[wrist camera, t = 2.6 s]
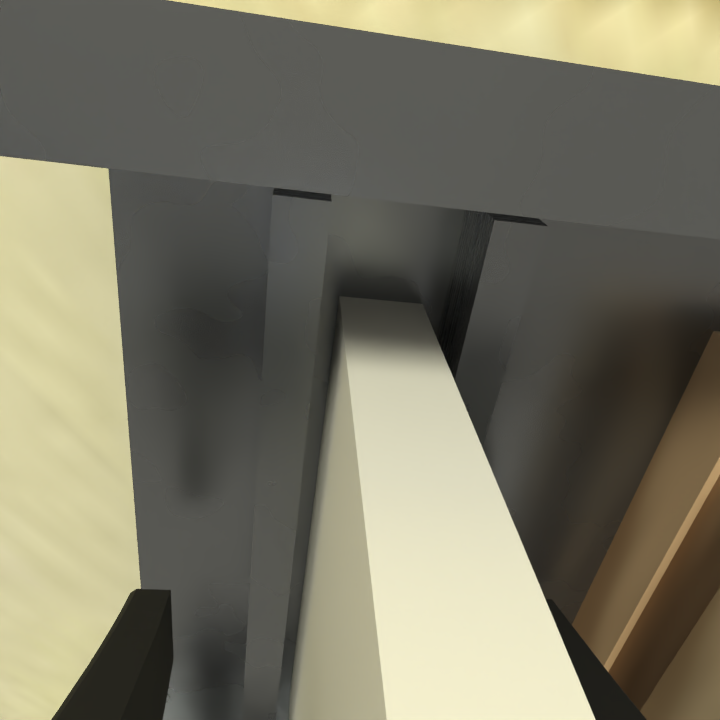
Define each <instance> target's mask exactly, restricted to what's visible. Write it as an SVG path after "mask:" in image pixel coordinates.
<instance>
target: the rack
mask: <svg viewBox="0 0 720 720" xmlns="http://www.w3.org/2000/svg"><path fill="white" fill-rule="evenodd" d="M0 156H6V157H15V158H23V159H32V160H40V161H49V162H58V163H66V164H75V165H83V166H92V167H101V168H109V180H110V193H111V206H112V219H113V231H114V244H115V257H116V270H117V283H118V296H119V309H120V322H121V335H122V348H123V360H124V373H125V386H126V399H127V412H128V425H129V438H130V451H131V464H132V477H133V489H134V502H135V515H136V528H137V541H138V554H139V567H140V580H141V589H158V590H171V606H172V631H173V656H174V659H173V665H172V671H171V677H170V682H169V688H168V694H167V699H166V704H165V710H164V715H163V720H289V703H290V689H291V681H292V673H293V665H294V657H295V649H296V641H297V633H298V625H299V617H300V609H301V601H302V592H303V584H304V576H305V568H306V560H307V552H308V544H309V536H310V528H311V520H312V512H313V504H314V496H315V488H316V480H317V472H318V464H319V456H320V448H321V440H322V432H323V424H324V416H325V408H326V400H327V392H328V384H329V376H330V368H331V360H332V352H333V344H334V336H335V328H336V320H337V312H338V304H339V296H343V297H354V298H365V299H376V300H386V301H397V302H408V303H419V304H423V306H424V309H425V311H426V314H427V316H428V318H429V321H430V323H431V326H432V328H433V330H434V333H435V335H436V338H437V340H438V342H439V345H440V347H441V350H442V352H443V354H444V357H445V359H446V362H447V364H448V366H449V369H450V371H451V374H452V376H453V378H454V381H455V383H456V386H457V388H458V390H459V393H460V395H461V398H462V400H463V402H464V405H465V407H466V410H467V412H468V414H469V417H470V419H471V422H472V424H473V426H474V429H475V431H476V434H477V436H478V438H479V441H480V443H481V446H482V448H483V450H484V453H485V455H486V458H487V460H488V462H489V465H490V467H491V470H492V472H493V474H494V477H495V479H496V482H497V484H498V487H499V489H500V491H501V494H502V496H503V499H504V501H505V503H506V506H507V508H508V511H509V513H510V515H511V518H512V520H513V523H514V525H515V527H516V530H517V532H518V535H519V537H520V539H521V542H522V544H523V547H524V549H525V551H526V554H527V556H528V559H529V561H530V563H531V566H532V568H533V571H534V573H535V575H536V578H537V580H538V583H539V585H540V587H541V590H542V592H543V595H544V597H545V599H552V600H553V601H554V603H555V604H556V605H557V606H558V608H559V609H560V610H561V611H562V613H563V614H564V615H565V617H566V618H567V619H568V621H569V622H570V623H571V625H572V623H573V621H574V619H575V617H576V615H577V613H578V611H579V609H580V607H581V605H582V603H583V601H584V599H585V596H586V594H587V592H588V590H589V588H590V586H591V584H592V582H593V580H594V578H595V576H596V574H597V572H598V570H599V567H600V565H601V563H602V561H603V559H604V557H605V555H606V553H607V551H608V549H609V547H610V545H611V543H612V540H613V538H614V536H615V534H616V532H617V530H618V528H619V526H620V524H621V522H622V520H623V518H624V516H625V514H626V511H627V509H628V507H629V505H630V503H631V501H632V499H633V497H634V495H635V493H636V491H637V489H638V487H639V485H640V482H641V480H642V478H643V476H644V474H645V472H646V470H647V468H648V466H649V464H650V462H651V460H652V458H653V455H654V453H655V451H656V449H657V447H658V445H659V443H660V441H661V439H662V437H663V435H664V433H665V431H666V429H667V426H668V424H669V422H670V420H671V418H672V416H673V414H674V412H675V410H676V408H677V406H678V404H679V402H680V399H681V397H682V395H683V393H684V391H685V389H686V387H687V385H688V383H689V381H690V379H691V377H692V375H693V373H694V370H695V368H696V366H697V364H698V362H699V360H700V358H701V356H702V354H703V352H704V350H705V348H706V346H707V343H708V341H709V339H710V337H711V335H712V333H713V331H719V332H720V86H717V85H710V84H704V83H697V82H691V81H684V80H678V79H671V78H665V77H658V76H652V75H646V74H639V73H633V72H626V71H620V70H613V69H607V68H600V67H594V66H587V65H581V64H575V63H568V62H562V61H555V60H549V59H542V58H536V57H529V56H523V55H516V54H510V53H503V52H497V51H491V50H484V49H478V48H471V47H465V46H458V45H452V44H445V43H439V42H432V41H426V40H420V39H413V38H407V37H400V36H394V35H387V34H381V33H374V32H368V31H361V30H355V29H349V28H342V27H336V26H329V25H323V24H316V23H310V22H303V21H297V20H290V19H284V18H277V17H271V16H265V15H258V14H252V13H245V12H239V11H232V10H226V9H219V8H213V7H206V6H200V5H194V4H187V3H181V2H174V1H168V0H0Z"/></svg>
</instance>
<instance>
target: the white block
mask: <svg viewBox="0 0 720 720" xmlns="http://www.w3.org/2000/svg"><path fill="white" fill-rule="evenodd" d="M289 720H595V717H594V715H593V712H592V710H591V708H590V705H589V703H588V700H587V698H586V696H585V693H584V691H583V688H582V686H581V684H580V681H579V679H578V676H577V674H576V672H575V669H574V667H573V664H572V662H571V659H570V657H569V655H568V652H567V650H566V647H565V645H564V643H563V640H562V638H561V635H560V633H559V631H558V628H557V626H556V623H555V621H554V619H553V616H552V614H551V611H550V609H549V607H548V604H547V602H546V599H545V597H544V595H543V592H542V590H541V587H540V585H539V583H538V580H537V578H536V575H535V573H534V571H533V568H532V566H531V563H530V561H529V559H528V556H527V554H526V551H525V549H524V547H523V544H522V542H521V539H520V537H519V535H518V532H517V530H516V527H515V525H514V523H513V520H512V518H511V515H510V513H509V511H508V508H507V506H506V503H505V501H504V499H503V496H502V494H501V491H500V489H499V487H498V484H497V482H496V479H495V477H494V474H493V472H492V470H491V467H490V465H489V462H488V460H487V458H486V455H485V453H484V450H483V448H482V446H481V443H480V441H479V438H478V436H477V434H476V431H475V429H474V426H473V424H472V422H471V419H470V417H469V414H468V412H467V410H466V407H465V405H464V402H463V400H462V398H461V395H460V393H459V390H458V388H457V386H456V383H455V381H454V378H453V376H452V374H451V371H450V369H449V366H448V364H447V362H446V359H445V357H444V354H443V352H442V350H441V347H440V345H439V342H438V340H437V338H436V335H435V333H434V330H433V328H432V326H431V323H430V321H429V318H428V316H427V314H426V311H425V309H424V306H423V304H419V303H408V302H397V301H386V300H376V299H365V298H354V297H343V296H339V304H338V312H337V320H336V328H335V336H334V344H333V352H332V360H331V368H330V376H329V384H328V392H327V400H326V408H325V416H324V424H323V432H322V440H321V448H320V456H319V464H318V472H317V480H316V488H315V496H314V504H313V512H312V520H311V528H310V536H309V544H308V552H307V560H306V568H305V576H304V584H303V592H302V601H301V609H300V617H299V625H298V633H297V641H296V649H295V657H294V665H293V673H292V681H291V689H290V703H289Z"/></svg>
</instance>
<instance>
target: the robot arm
mask: <svg viewBox="0 0 720 720" xmlns="http://www.w3.org/2000/svg"><path fill="white" fill-rule="evenodd" d="M546 602H547V604H548V607H549V609H550V611H551V614H552V616H553V619H554V621H555V623H556V626H557V628H558V631H559V633H560V635H561V638H562V640H563V643H564V645H565V647H566V650H567V652H568V655H569V657H570V659H571V662H572V664H573V667H574V669H575V672H576V674H577V676H578V679H579V681H580V684H581V686H582V688H583V691H584V693H585V696H586V698H587V700H588V703H589V705H590V708H591V710H592V712H593V715H594V717H595V720H647V719H646V718H645V717H644V716H643V714H642V713H641V712H640V711H639V710H638V708H637V707H636V706H635V705H634V703H633V702H632V701H631V700H630V699H629V697H628V696H627V695H626V694H625V692H624V691H623V690H622V689H621V688H620V686H619V685H618V684H617V683H616V681H615V680H614V679H613V677H612V676H611V675H610V674H609V672H608V671H607V670H606V669H605V667H604V666H603V665H602V663H601V662H600V661H599V660H598V658H597V657H596V656H595V654H594V653H593V652H592V651H591V649H590V648H589V647H588V645H587V644H586V643H585V641H584V640H583V639H582V638H581V636H580V635H579V634H578V632H577V631H576V630H575V628H574V627H573V626H572V625H571V623H570V622H569V621H568V619H567V618H566V617H565V615H564V614H563V613H562V611H561V610H560V609H559V608H558V606H557V605H556V604H555V603H554V601H553V600H552V599H546ZM173 659H174V656H173V631H172V606H171V590H158V589H136V590H134V591H133V592H131V593H130V595H129V597H128V599H127V601H126V603H125V604H124V606H123V608H122V610H121V612H120V614H119V615H118V617H117V619H116V621H115V622H114V624H113V626H112V628H111V629H110V631H109V633H108V634H107V636H106V638H105V639H104V641H103V643H102V644H101V646H100V647H99V649H98V651H97V652H96V654H95V655H94V657H93V659H92V660H91V662H90V663H89V665H88V666H87V668H86V669H85V671H84V672H83V674H82V675H81V677H80V678H79V680H78V681H77V683H76V684H75V686H74V687H73V689H72V690H71V692H70V693H69V695H68V696H67V698H66V699H65V701H64V702H63V704H62V705H61V707H60V708H59V710H58V711H57V712H56V714H55V715H54V717H53V718H52V720H163V715H164V710H165V704H166V699H167V694H168V688H169V682H170V677H171V671H172V665H173Z"/></svg>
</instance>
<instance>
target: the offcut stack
mask: <svg viewBox="0 0 720 720" xmlns="http://www.w3.org/2000/svg"><path fill="white" fill-rule="evenodd" d="M572 626H573V627H574V628H575V630H576V631H577V632H578V634H579V635H580V636H581V638H582V639H583V640H584V641H585V643H586V644H587V645H588V647H589V648H590V649H591V651H592V652H593V653H594V654H595V656H596V657H597V658H598V660H599V661H600V662H601V663H602V665H603V666H604V667H605V669H606V670H607V671H608V672H609V674H610V675H611V676H612V677H613V679H614V680H615V681H616V683H617V684H618V685H619V686H620V688H621V689H622V690H623V691H624V692H625V694H626V695H627V696H628V697H629V699H630V700H631V701H632V702H633V703H634V705H635V706H636V707H637V708H638V710H639V711H640V712H641V713H642V714H643V716H644V717H645V718H646V719H647V720H720V332H719V331H713V333H712V335H711V337H710V339H709V341H708V343H707V346H706V348H705V350H704V352H703V354H702V356H701V358H700V360H699V362H698V364H697V366H696V368H695V370H694V373H693V375H692V377H691V379H690V381H689V383H688V385H687V387H686V389H685V391H684V393H683V395H682V397H681V399H680V402H679V404H678V406H677V408H676V410H675V412H674V414H673V416H672V418H671V420H670V422H669V424H668V426H667V429H666V431H665V433H664V435H663V437H662V439H661V441H660V443H659V445H658V447H657V449H656V451H655V453H654V455H653V458H652V460H651V462H650V464H649V466H648V468H647V470H646V472H645V474H644V476H643V478H642V480H641V482H640V485H639V487H638V489H637V491H636V493H635V495H634V497H633V499H632V501H631V503H630V505H629V507H628V509H627V511H626V514H625V516H624V518H623V520H622V522H621V524H620V526H619V528H618V530H617V532H616V534H615V536H614V538H613V540H612V543H611V545H610V547H609V549H608V551H607V553H606V555H605V557H604V559H603V561H602V563H601V565H600V567H599V570H598V572H597V574H596V576H595V578H594V580H593V582H592V584H591V586H590V588H589V590H588V592H587V594H586V596H585V599H584V601H583V603H582V605H581V607H580V609H579V611H578V613H577V615H576V617H575V619H574V621H573V623H572Z"/></svg>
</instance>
